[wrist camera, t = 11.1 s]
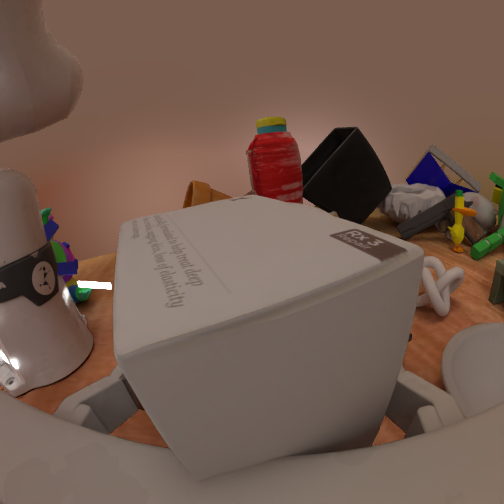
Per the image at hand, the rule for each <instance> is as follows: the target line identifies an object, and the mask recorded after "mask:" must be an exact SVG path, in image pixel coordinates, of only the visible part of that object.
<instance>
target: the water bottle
mask: <svg viewBox="0 0 504 504" xmlns="http://www.w3.org/2000/svg"><path fill="white" fill-rule="evenodd" d="M256 126H257V131H258V135H256V136H255V138H254V140H253V142H252V143H251V144H250V146H249V148H248V150H247V151H246V155H248V167H249V174H250V181H251V186H252V191H250V192H249V193H247V194H245V195H244V196H247V195H258V196H262V197H267V198H271V199H276V200H280V201H283V202H290V203H299V204H303V197H302V195H303V176H302V166H301V158H300V153H299V149H298V145H297V143H296V141H295V139H294V138H293V137H292V136H291V134H290V133H289V132H287V131H286V120H285V119H284V118H282V117H267V118H263V119H260V120H258V121H257V122H256Z"/></svg>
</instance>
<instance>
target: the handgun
mask: <svg viewBox="0 0 504 504" xmlns="http://www.w3.org/2000/svg"><path fill="white" fill-rule="evenodd" d="M455 195H457V194H456V193H454V194H452V193H451V195H450V196H449V197H447V198H446V199H444V200H442V201H441V202H439V203H437V204H435V205H434V206H432V207H430V208H428V209H427V210H425V211H423V212H421V213H420V214H418V215H416V216H414V217H413V218H411V219H409V220H407V221H405V222H404V223H400V224H399V225H398V227H397V229H398V231H399V233H400V234H401V236H402V237H403V240H406V239H408V238H410V237H411V236H413V235H415V234H418V233H419V232H421V231H423V230H425V229H427V228H429V227H431V226H432V225H434V226H436V227H437V229H438V231H439V232H441V233H444V232H446V231H448V230H449V228H448V229H446V230H445V231H441V230H440V229H439V227H438V225H439V222H440V221H441V220H443V219H444V220H445V221H446V222H447V225H448V226H449V227H451V228H452V227H453V226H454V224H455V211H453V209H452V208H455V197H456V196H455ZM472 204H473V201H468V202H466V201H465V200H464V207H466V208H469V207H470V206H471V205H472ZM462 226H463V228H464V235H465V236H466V237H467V238H468V240H469V241H470V242H471V243H472V245H471V246H473V245H475V244H476V243H477V242H478V241H479V240H481V239H482V238H483V237H484V236H485V235H486V234H487V232H488V231H487V229H486V228H485V227H484V226H483V225H482V224H481V223H480V222H479V221H477V220H476V219H475V217H474V216H473V217H470V216H466V215H463V219H462Z"/></svg>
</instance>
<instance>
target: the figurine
mask: <svg viewBox="0 0 504 504" xmlns="http://www.w3.org/2000/svg"><path fill="white" fill-rule="evenodd" d="M50 211H51V208H46V209H43V210H41V211H40V212H41V217H42V221H43V226H44V230H45V234H46V238H47V241H49V242H50V243H51V245H52V249H53V250H54V252H55V258H56V261H57V265H58V270H57V274H58V275H59V276H61V277H62V278H63V280H64V282H65V284H66V286H67V288H68V290H69V293H70V295H71V297H72V299H73V301H74V302H77V303H79V302H82V301H86V300H87V299H88V298H89V296H90V294H91V291H92V288H86V287H79V286H78V284H77V282H76V281H75V279H74V278H73V277H72V276H73V274H77V269H78V261H77V259H75V258H74V256H73V254H72V252H71V250H70V249H69V247H70V245H69V244H68V243H66V242H63V243H61V242H59V241H57V240H54V239H53V235H54V234H55V232H56V231H57V229H58V228H59V226H58V224H56V223H55V222H54V221H52V220H53V216H52V215H51V214H50Z"/></svg>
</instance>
